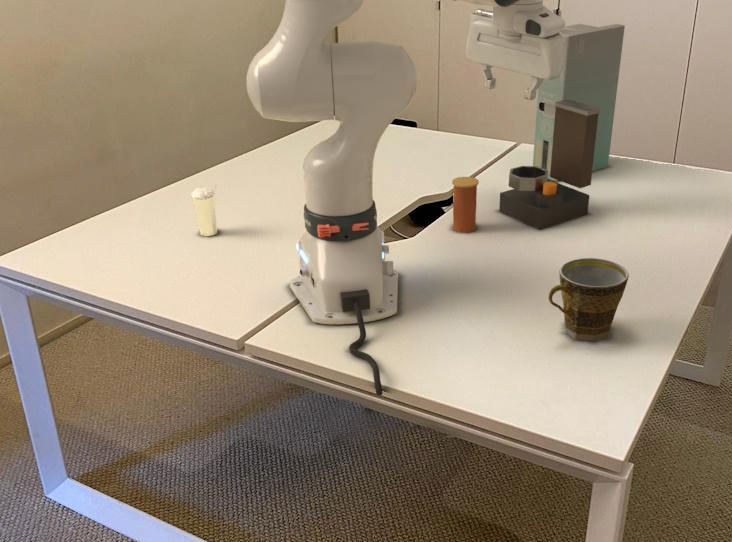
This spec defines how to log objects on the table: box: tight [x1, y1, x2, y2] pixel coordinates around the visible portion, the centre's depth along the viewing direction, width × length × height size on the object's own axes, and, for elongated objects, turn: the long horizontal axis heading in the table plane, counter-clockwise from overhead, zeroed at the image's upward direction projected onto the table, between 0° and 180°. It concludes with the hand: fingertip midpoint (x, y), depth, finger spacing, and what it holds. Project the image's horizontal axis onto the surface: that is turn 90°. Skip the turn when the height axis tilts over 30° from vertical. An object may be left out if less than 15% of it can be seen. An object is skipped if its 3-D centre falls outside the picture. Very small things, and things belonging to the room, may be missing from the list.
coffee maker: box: [508, 99, 600, 191], centre depth 163 cm, size 12×13×15 cm
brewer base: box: [498, 178, 590, 230], centre depth 168 cm, size 13×13×6 cm
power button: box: [543, 181, 558, 195], centre depth 163 cm, size 3×3×2 cm
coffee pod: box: [451, 176, 480, 233], centre depth 162 cm, size 5×5×10 cm
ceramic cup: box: [548, 257, 630, 343], centre depth 126 cm, size 13×10×10 cm
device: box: [532, 23, 626, 183], centre depth 183 cm, size 16×8×30 cm, turn 124°
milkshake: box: [190, 184, 218, 237], centre depth 164 cm, size 4×5×10 cm
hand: (509, 93), depth 162 cm, fingers open, 8 cm apart
